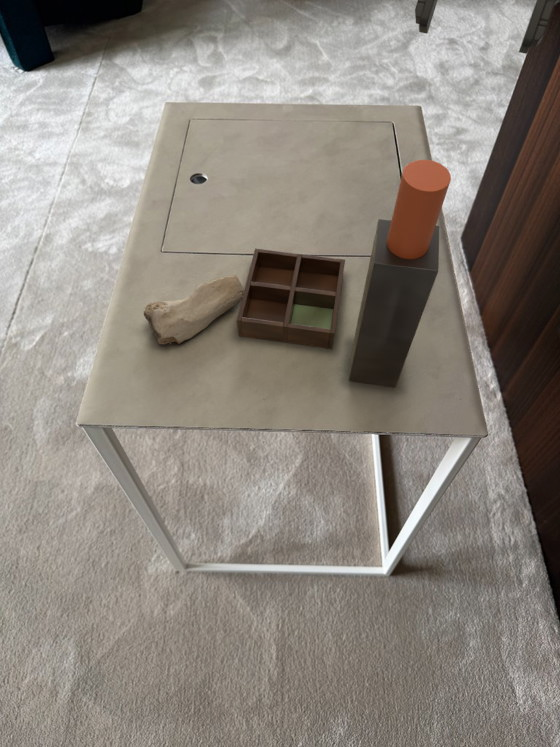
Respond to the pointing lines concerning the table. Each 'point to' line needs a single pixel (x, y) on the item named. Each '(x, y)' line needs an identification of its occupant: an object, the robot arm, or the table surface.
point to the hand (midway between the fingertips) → (472, 39)
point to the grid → (291, 298)
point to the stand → (391, 309)
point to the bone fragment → (193, 310)
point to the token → (417, 208)
